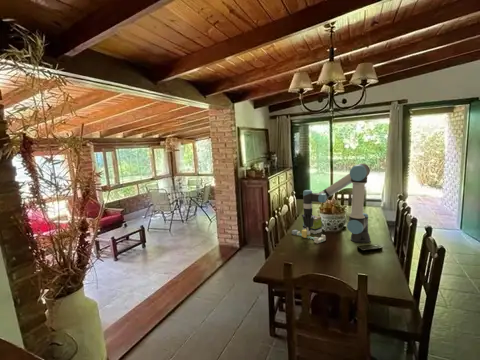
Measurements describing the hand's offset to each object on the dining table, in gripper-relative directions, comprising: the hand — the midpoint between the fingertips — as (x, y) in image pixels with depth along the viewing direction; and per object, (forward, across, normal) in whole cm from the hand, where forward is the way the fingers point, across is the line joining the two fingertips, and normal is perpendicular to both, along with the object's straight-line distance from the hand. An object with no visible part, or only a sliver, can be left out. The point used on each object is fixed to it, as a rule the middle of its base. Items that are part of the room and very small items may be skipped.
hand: (308, 234), depth 250 cm
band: (+4, +12, 0) cm, 12 cm away
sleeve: (+4, +3, 0) cm, 5 cm away
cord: (+4, +2, 0) cm, 4 cm away
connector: (+4, +16, 0) cm, 17 cm away
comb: (+4, -12, 0) cm, 13 cm away
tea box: (+4, +10, -16) cm, 19 cm away
